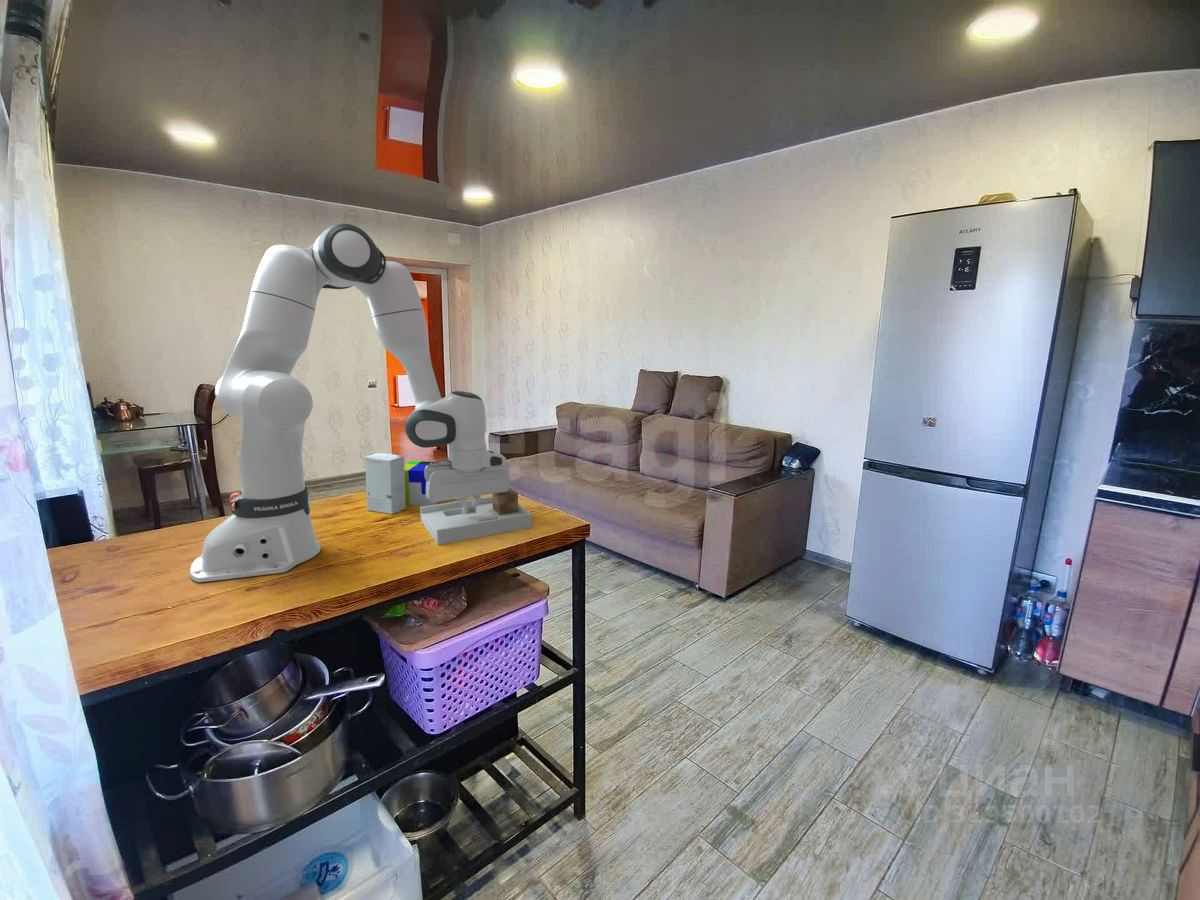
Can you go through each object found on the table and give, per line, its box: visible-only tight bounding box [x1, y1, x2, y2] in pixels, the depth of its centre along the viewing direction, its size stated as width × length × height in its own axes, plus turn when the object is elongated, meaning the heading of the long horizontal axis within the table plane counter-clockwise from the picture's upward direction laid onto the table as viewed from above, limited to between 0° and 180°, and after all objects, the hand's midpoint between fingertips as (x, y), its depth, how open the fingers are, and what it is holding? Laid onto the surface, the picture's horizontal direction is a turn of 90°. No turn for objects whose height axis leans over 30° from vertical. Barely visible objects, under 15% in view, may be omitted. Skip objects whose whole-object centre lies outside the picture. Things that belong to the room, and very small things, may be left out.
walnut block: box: [491, 487, 519, 515], centre depth 132 cm, size 5×5×5 cm
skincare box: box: [364, 452, 406, 515], centre depth 136 cm, size 8×6×15 cm
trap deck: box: [419, 496, 533, 545], centre depth 129 cm, size 23×18×4 cm
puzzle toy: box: [405, 460, 440, 507], centre depth 145 cm, size 10×10×10 cm
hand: (469, 513), depth 128 cm, fingers closed
